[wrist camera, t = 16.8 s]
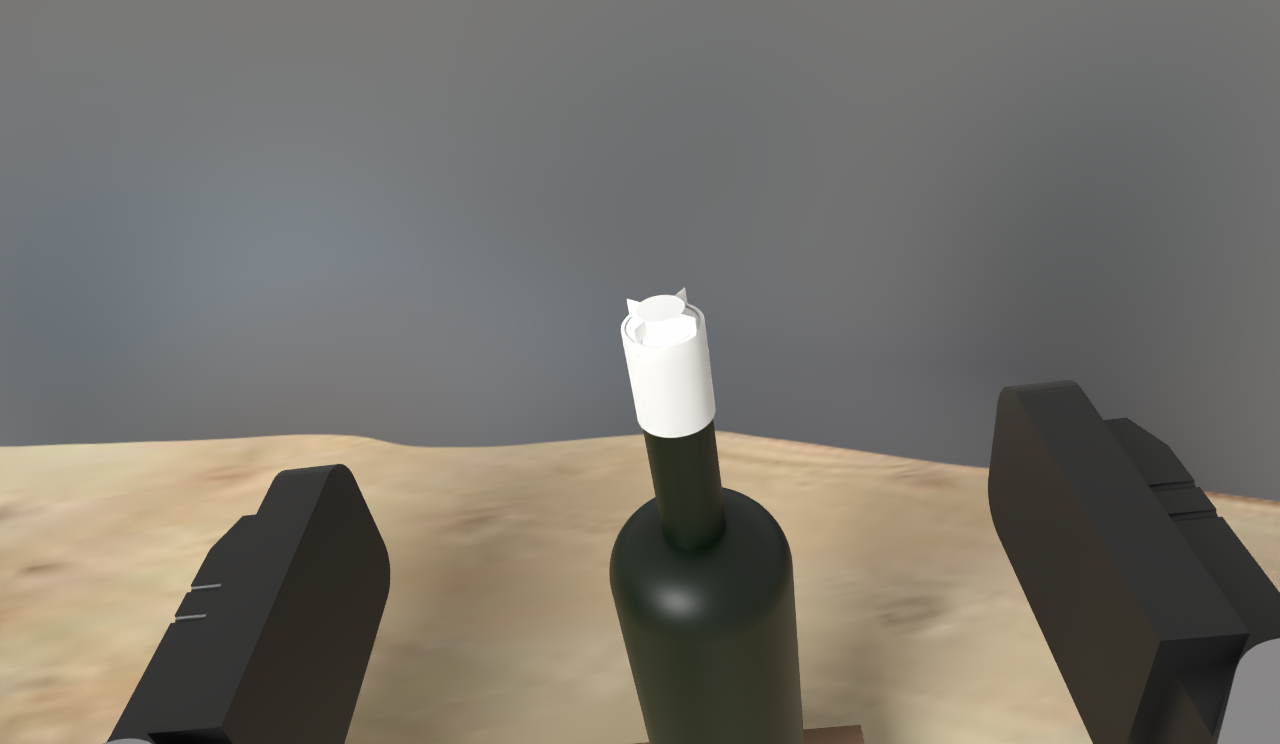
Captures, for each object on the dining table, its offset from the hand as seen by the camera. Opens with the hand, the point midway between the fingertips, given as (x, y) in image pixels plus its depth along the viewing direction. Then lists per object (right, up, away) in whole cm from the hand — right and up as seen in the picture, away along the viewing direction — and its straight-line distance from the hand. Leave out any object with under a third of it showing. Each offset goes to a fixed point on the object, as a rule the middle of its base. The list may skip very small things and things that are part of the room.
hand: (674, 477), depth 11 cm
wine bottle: (+4, -21, +28) cm, 36 cm away
